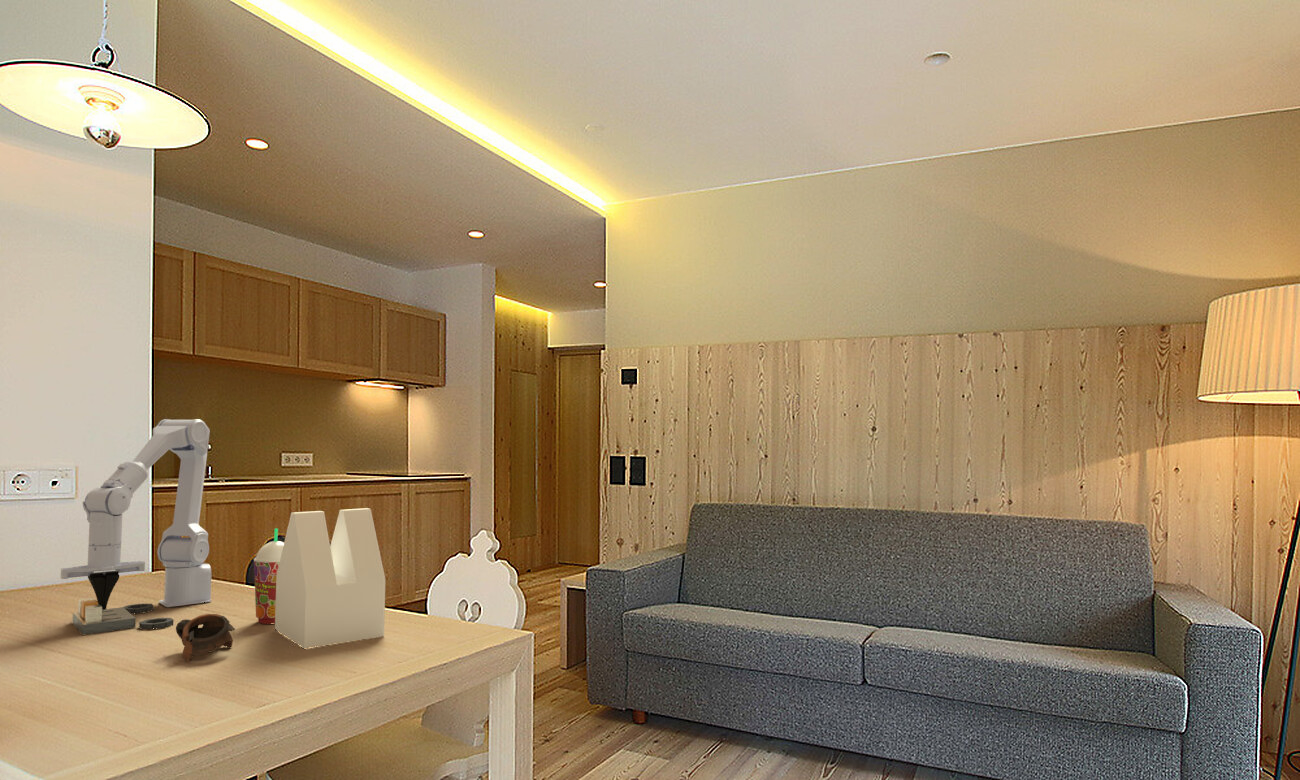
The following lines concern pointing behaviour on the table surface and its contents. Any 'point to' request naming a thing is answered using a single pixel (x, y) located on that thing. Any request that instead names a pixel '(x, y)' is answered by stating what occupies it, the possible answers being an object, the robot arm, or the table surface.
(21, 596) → the table surface
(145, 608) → the coil
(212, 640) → the rusty ring housing
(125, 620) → the breaker strip
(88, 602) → the orange breaker switch
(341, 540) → the white v-notch block
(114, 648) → the table surface
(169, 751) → the table surface
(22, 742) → the table surface
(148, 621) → the coil
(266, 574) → the smoothie
